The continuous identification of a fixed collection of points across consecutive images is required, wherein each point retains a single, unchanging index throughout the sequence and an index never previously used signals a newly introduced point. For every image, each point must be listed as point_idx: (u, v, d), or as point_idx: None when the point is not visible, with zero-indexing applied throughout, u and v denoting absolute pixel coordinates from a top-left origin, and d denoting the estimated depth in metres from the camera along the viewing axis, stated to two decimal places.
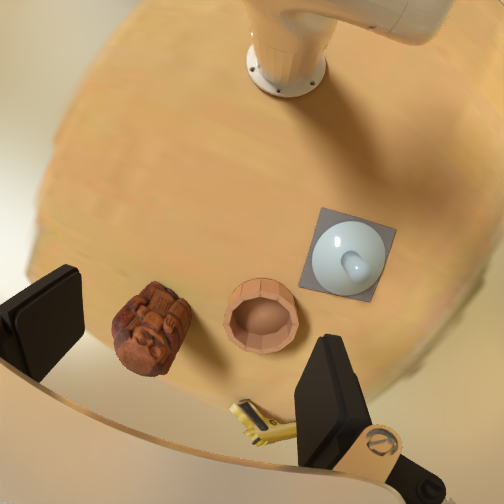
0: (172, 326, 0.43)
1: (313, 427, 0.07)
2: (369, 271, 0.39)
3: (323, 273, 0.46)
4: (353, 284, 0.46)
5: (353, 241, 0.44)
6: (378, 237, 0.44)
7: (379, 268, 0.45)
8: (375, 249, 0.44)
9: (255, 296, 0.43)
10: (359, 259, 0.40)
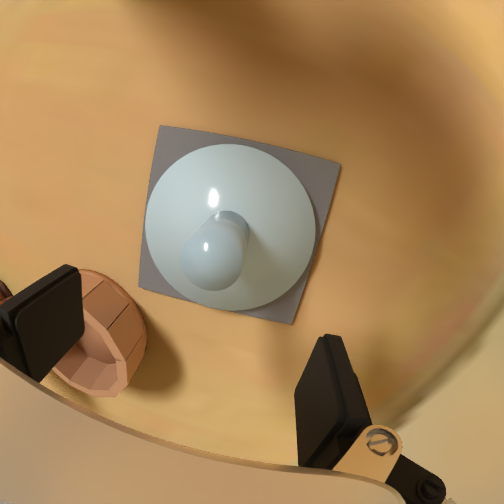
0: None
1: (313, 428, 0.07)
2: (236, 257, 0.15)
3: (172, 261, 0.22)
4: (242, 287, 0.22)
5: (228, 189, 0.20)
6: (291, 178, 0.19)
7: (302, 253, 0.21)
8: (287, 207, 0.20)
9: None
10: (215, 225, 0.16)
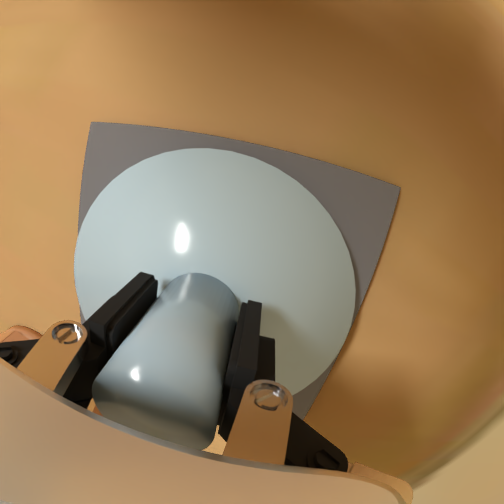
0: None
1: None
2: (200, 419, 0.06)
3: None
4: None
5: (199, 234, 0.11)
6: (319, 215, 0.10)
7: (328, 342, 0.12)
8: (307, 268, 0.11)
9: None
10: (157, 336, 0.07)
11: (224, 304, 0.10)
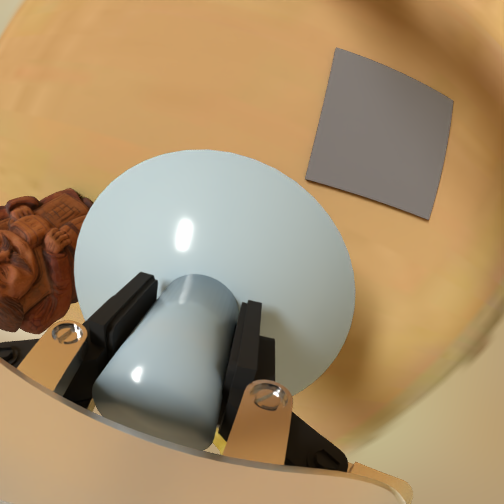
0: (63, 242, 0.20)
1: None
2: (200, 421, 0.06)
3: None
4: None
5: (198, 236, 0.11)
6: (319, 216, 0.10)
7: (328, 343, 0.12)
8: (307, 270, 0.11)
9: None
10: (157, 338, 0.07)
11: (224, 305, 0.10)
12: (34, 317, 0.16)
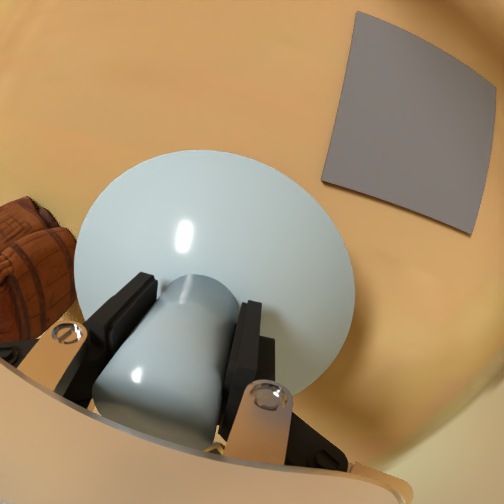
0: (2, 271, 0.12)
1: None
2: (200, 421, 0.06)
3: None
4: None
5: (198, 236, 0.11)
6: (318, 217, 0.10)
7: (328, 343, 0.12)
8: (307, 270, 0.11)
9: None
10: (157, 338, 0.07)
11: (224, 306, 0.10)
12: None
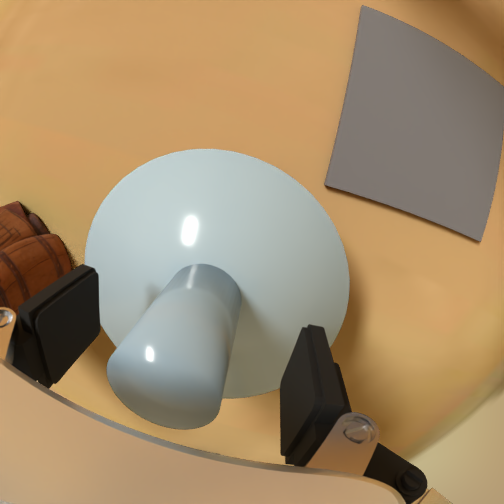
0: None
1: (294, 415, 0.07)
2: (207, 391, 0.07)
3: (127, 332, 0.13)
4: (232, 373, 0.14)
5: (204, 228, 0.12)
6: (314, 210, 0.11)
7: (325, 329, 0.13)
8: (304, 259, 0.12)
9: None
10: (168, 317, 0.08)
11: (228, 291, 0.11)
12: None
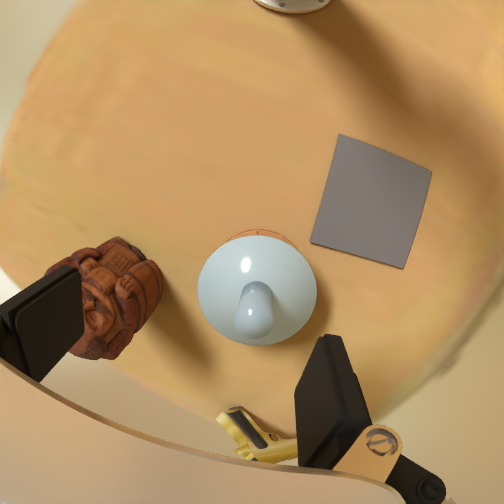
0: (129, 289, 0.29)
1: (313, 427, 0.07)
2: (269, 320, 0.24)
3: (216, 312, 0.31)
4: None
5: (259, 267, 0.29)
6: (302, 261, 0.29)
7: (307, 309, 0.30)
8: (298, 280, 0.30)
9: None
10: (255, 299, 0.25)
11: (269, 292, 0.29)
12: (112, 348, 0.25)
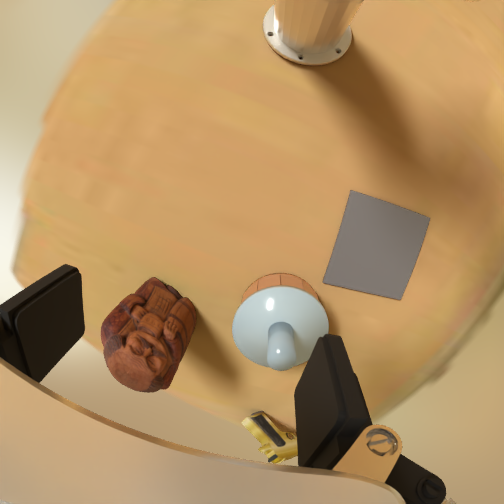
0: (174, 331, 0.35)
1: (313, 427, 0.07)
2: (294, 357, 0.31)
3: (247, 345, 0.38)
4: None
5: (283, 311, 0.36)
6: (318, 306, 0.35)
7: None
8: (314, 320, 0.36)
9: None
10: (282, 341, 0.32)
11: (291, 331, 0.35)
12: (166, 381, 0.32)
